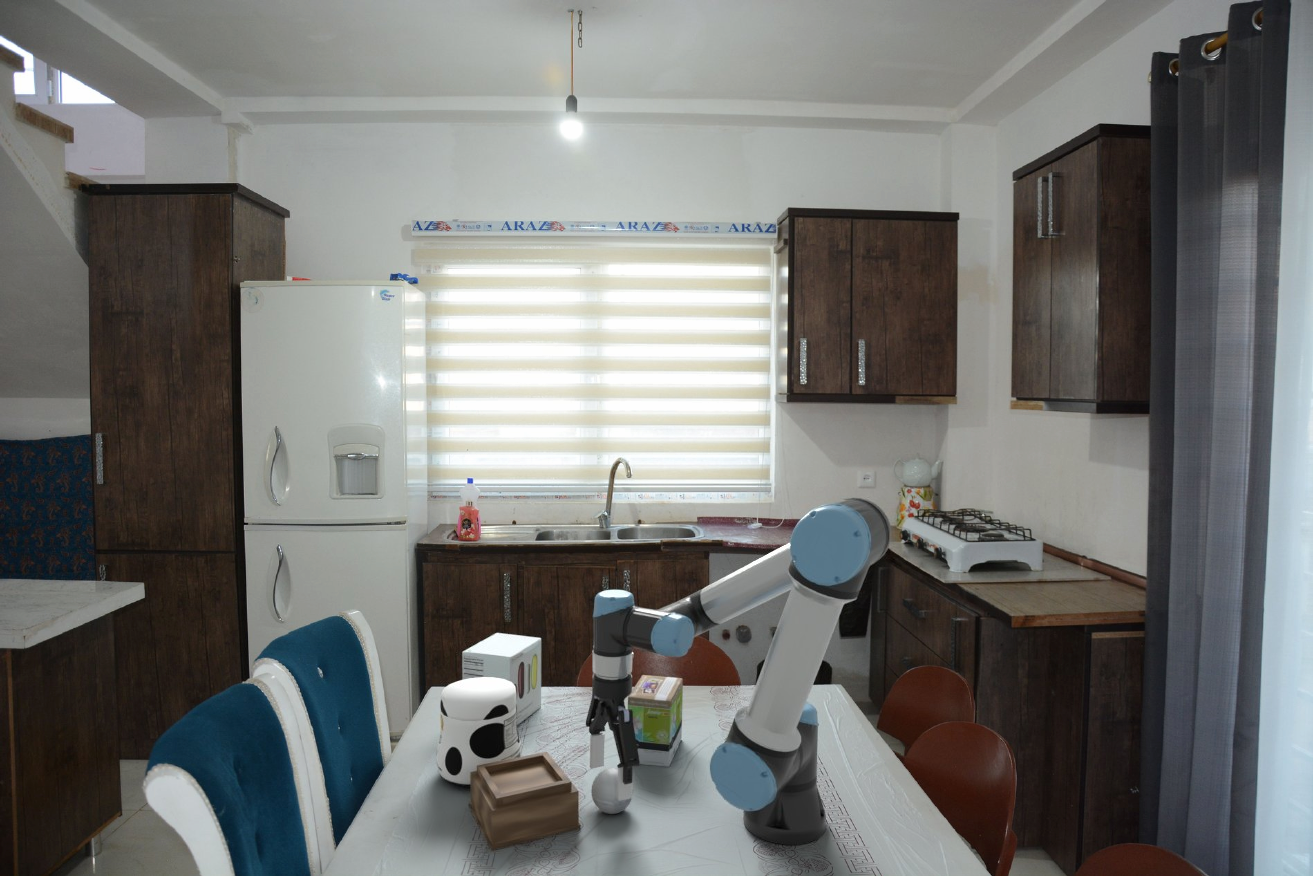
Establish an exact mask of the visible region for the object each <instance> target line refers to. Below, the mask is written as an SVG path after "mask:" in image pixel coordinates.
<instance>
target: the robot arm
mask: <svg viewBox="0 0 1313 876" xmlns="http://www.w3.org/2000/svg"><path fill="white" fill-rule="evenodd" d="M886 514H887V513H885V511H884V510H883V509H882V508H881V507H880V506H879V505H878V504H876V503H874V502H872V501H871V500H869V499H866V498H862V497H849V498H843V499H841V500H839V501H836V502H833V503H827V504H823V505H820V506H817V507H814V509H811V510H810V511H809V512H808V513H806V514H805V515H804V516H803V517H802V518H801V519H800V520H798V522H797V524H796V525H795V527H794V528H793V530H792V533H791V537H790V540H789V541H790V542H788V543H786V544H784V545H782V546H781V547H778V548H776V549H774V550H773V551H771V552H769V553H768V554H765V555H764V556H761V557H760V558H758V559H756V560H754V561H752V562H750V563H749V564H746V565H745V566H743V567H740V568H739V569H736V571H733V572H731V573H730V574H728V575H725V576H724V577H722V578H720V579H718V580H716V581H715V582H713V583H710V584H709V585H707V586H705V587H704V588H702V589H699V590H697V591H695V592H693V593H692V594H689V595H687V596H686V597H683V598H682V599H679V600H677V601H675V602H672V603H671V604H667V605H666V606H663V607H660V608H659V609H652V608H648V607H647V608H645V607H641V606H637V605H635V597H634V594H633V593H631V592H629V591H627V590H623V589H608V590H607V589H605V590H603V591H600V592H598V593H597V594H596V595H595V596H594V603H593V606H594V607H593V615H592V619H593V623H592V624H593V646H592V647H593V649H592V666H591V667H592V678H591V679H592V683H591V684H592V686H591V687H592V689H591V690H592V691H591V692H592V693H591V699H590V704H589V706H588V707H589V708H588V712H587V716H586V719H585V727H587V728H588V732H589V734H590V738H589V739H590V741H589V747H590V748H589V768H590V769H591V770H592V769H597V768H601V767H604V766H605V733H604V732H606V731H607V730H606V728H605V727H606V725H607V723H608V728H609V730H610V731H612V734H613V738H614V742H615V745H616V746H615V747H616V751H617V755H618V759H619V763H618V764H617V765H616V767H617V769H618V795H617V799H618V800H619V801H621V800H625V799H630V798H632V799H633V797H634V767H638V766H640V765H641V764H640V762H639V756H638V750H637V743H636V737H635V731H634V725H633V711H632V709H628V708H626V705H625V700H626V698H628V696H629V695H630V694H631V692H632V690H633V675H632V672H633V658H634V657H635V655H634V652H633V650H634V649H637V650H641V651H644V652H650V653H653V654H656V655H660V656H664V657H673V658H681V657H683V656H686V654H688V651H689V650H690V649H691V647H692V646H693V642H694V638H695V637H698V636H700V635H702V634H705V633H706V632H710V631H711V630H712V629H714V628H716V627H718V626H719V625H721V624H724V623H725V622H727V621H730V620H731V619H733V618H735V617H738V616H740V615H742V614H743V613H746V612H747V611H750V610H751V609H754V608H756V607H758V606H760V605H761V604H762V605H763V604H764V603H767V602H768V601H770V600H773V599H774V598H777V597H779V596H781V595H783V594H785V593H787V592H789V594H788V597H787V600H786V602H785V604H784V608H783V610H782V613H781V616H780V618H779V621H778V624H777V627H776V630H775V632H774V635H773V638H772V640H771V643H770V645H769V648H768V652H767V654H766V657H765V660H764V662H763V665H762V666H761V667H762V668H761V670H760V674H759V676H758V678H757V681H756V683H755V686H754V687H755V688H754V689H753V692H752V695H751V698H750V701H749V704H748V706H747V705H746V706H743V707H740V708H739V709H738V710H737V711H736V712H735V715H734V718H733V721H732V723H731V726H730V729H729V732H728V734H727V736H726V738H725V739H726V740H724V743H721V744H720V745H718V747H717V748H716V749H715V751H714V752H713V754H712V756H711V758H710V763H709V772H710V773H709V774H710V777H711V780H712V782H713V783H714V785H715V789H716V791H717V792H718V794H719V795H720V796H721V798H722V799H724V800H725V801H726V802H727V803H728V804H729V805H731V806H732V807H735V808H736V809H739V810H741V811H743V818H742V819H743V820H742V821H743V824H744V826H745V828H746V829H747V830H748V832H750V834H752V835H753V836H755V837H757V838H759V839H762V840H764V841H766V842H771V843H774V844H779V845H789V846H790V845H793V846H794V845H803V844H807V843H811V842H814V841H816V840H818V839H820V837H822V836H823V835H824V833H825V832H826V827H827V814H826V811H825V808H824V804H823V801H822V798H821V797H822V796H821V794H820V792H819V788H818V787H819V786H818V783H817V782H818V781H817V780H818V740H819V739H818V737H819V735H818V733H819V731H818V730H819V726H820V725H819V721H818V710H817V708H816V707H815V706H814V705H813V704H811V703H810V702H809V701H808V698H809V696H810V694H811V691H812V689H813V685H814V682H815V681H816V677H817V675H818V673H819V670H820V667H821V665H822V662H823V660H824V658H825V655H826V652H827V649H828V647H829V644H830V642H831V639H832V636H833V633H834V631H835V628H836V625H837V623H838V620H839V617H840V615H841V613H842V610H843V607H844V605H845V604H848V603H851V602H853V601H856V600H857V599H858V596H859V594H860V591H861V589H862V586H863V583H864V580H865V578H866V576H867V573H868V571H869V568H870V566H872V565H874V564H875V563H877V562H878V561H879V560H880V559H882V557H884V556H885V555H886V552H887V551H888V550H889V547H890V544H891V540H892V527H891V526H892V525H891V522H890V521H889V518H888V516H887V515H886Z"/></svg>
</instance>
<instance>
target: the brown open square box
mask: <svg viewBox="0 0 1313 876" xmlns="http://www.w3.org/2000/svg"><path fill="white" fill-rule="evenodd" d="M469 787H470V789H469V790H470V802H469V803H468V809H469V811H470V813H471V815H472V817H473V818H474V820H475V822H476V824H477V826H478V828H479V830H480V832H481V834H482V836H483V838H484V840H485V842H486V843H487V845H488V848H489V849H490V851H491V852H493V851H497V850H502V849H504V848H509V847H513V846H515V845H516V846H517V845H521V844H525V843H530V842H533V841H537V840H540V839H545V838H550V837H553V836H558V835H561V834H564V833H570V832H573V831H577V830H580V829H582V828H581V826H582V824H581V823H580V822H579V812H580V811H579V809H580V808H579V807H580V804H579V803H580V802H579V801H580V799H579V796H580V795H579V789H578V788H577V787H576V786H575V784H573V781H572V780H570V778H569V777H568V776H567V775H566V773H565V772H564V771H563V769H562V768H561V767H560V765H558V763H557V762H556V761H555V760H554V759H553V757H552V756H551V755H550V754H549V753H548V751H542V752H538V753H534V754H533V753H532V754H527V755H523V756H522V755H521V757H517V758H512V759H507V760H502V761H497V762H492V763H487V764H482V765H477V771H474V772H470V786H469Z"/></svg>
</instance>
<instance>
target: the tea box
mask: <svg viewBox="0 0 1313 876" xmlns="http://www.w3.org/2000/svg"><path fill="white" fill-rule="evenodd" d="M683 679H684V678H682V677H681V678H680V677H673V676H659V675H646V674H642V675H641V677H640V678H639V679H638V681H637V683H636V684H635V686H634V687H633V688H632V692H631V694H630V695H629V696H627V709H632V711H633V725H634V731H635V737H636V743H637V750H638V756H639V762H640V764H639V765H646V766H657V767H668V768H669V766H670V765H671V763H672V761H673V758H674V756H675V755H676V752H677V750H678V747H679V745H680V743H681V740H682V739H683V738H682V734H683V698H684V697H683V693H684V691H683V690H684V687H683V686H684V685H683V684H684V681H683Z"/></svg>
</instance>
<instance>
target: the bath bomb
mask: <svg viewBox="0 0 1313 876" xmlns="http://www.w3.org/2000/svg"><path fill="white" fill-rule="evenodd" d="M617 795H618V768H614V767H612V768H611V767H610V768H606V769H604V770H601V771H600V772H599V773H598V774H597V776H595V778H594V779H593V781H592V785H591V798H592V801H593V803H594V805H595V806H596V807H597V809H599V810H600V811H601V812H603V813H605V814H609V815H613V814H618V813H620V812H623V811H624V810H626V808H627V807H628V806H629V805H630V804H631V802H632V799H633V798H630V799H625V800H621V801H619V800H618V799H617Z"/></svg>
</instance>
